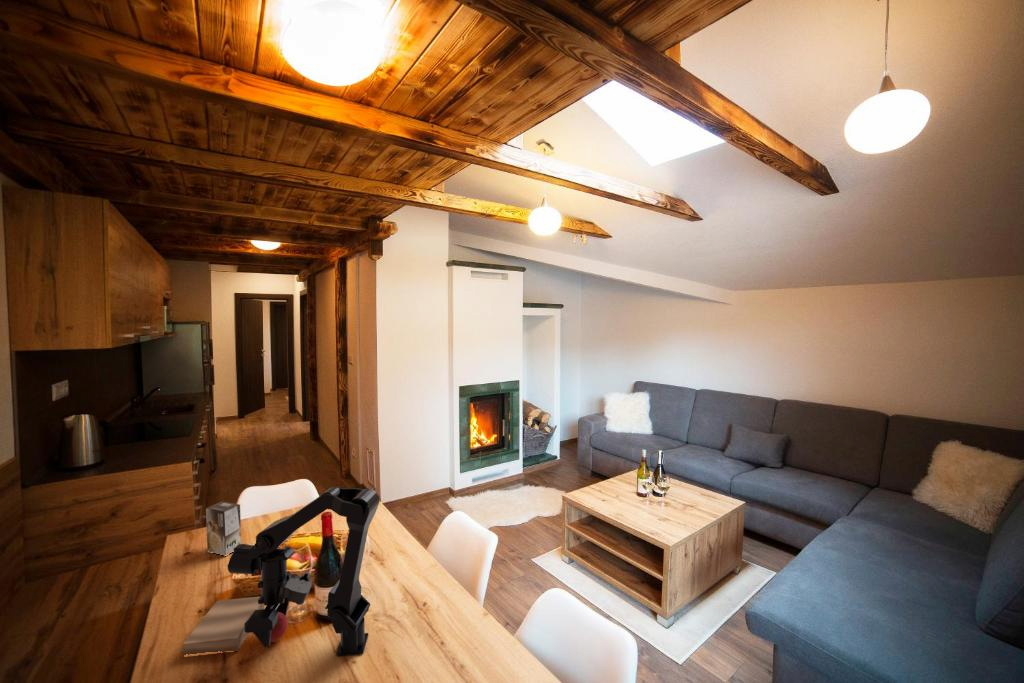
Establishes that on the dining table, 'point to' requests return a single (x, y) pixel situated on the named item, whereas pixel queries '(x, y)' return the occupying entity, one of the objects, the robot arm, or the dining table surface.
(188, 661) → the dining table surface
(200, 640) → the grey flat block
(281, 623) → the onion
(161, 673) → the dining table surface
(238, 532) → the coffee box
